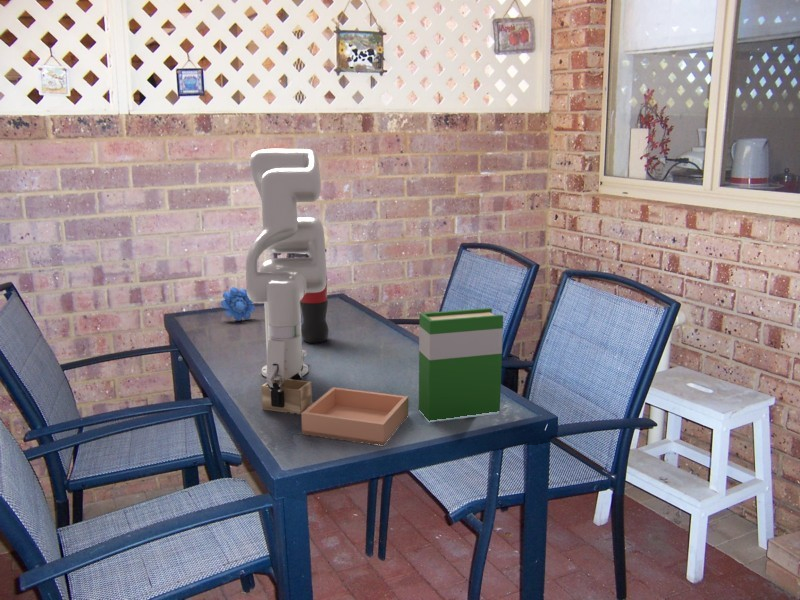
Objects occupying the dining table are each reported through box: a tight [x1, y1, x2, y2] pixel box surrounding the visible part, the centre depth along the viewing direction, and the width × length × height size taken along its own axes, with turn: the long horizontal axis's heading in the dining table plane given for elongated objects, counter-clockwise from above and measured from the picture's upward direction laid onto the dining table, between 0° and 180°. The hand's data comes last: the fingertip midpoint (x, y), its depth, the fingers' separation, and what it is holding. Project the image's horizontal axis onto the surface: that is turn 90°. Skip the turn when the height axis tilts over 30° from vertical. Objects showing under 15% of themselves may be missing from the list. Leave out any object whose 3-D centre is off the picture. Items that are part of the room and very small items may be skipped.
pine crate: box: [260, 377, 313, 415], centre depth 176 cm, size 6×10×6 cm, turn 71°
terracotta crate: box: [300, 386, 409, 446], centre depth 166 cm, size 17×19×5 cm
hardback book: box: [418, 307, 504, 421], centre depth 171 cm, size 18×7×24 cm, turn 107°
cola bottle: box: [300, 253, 329, 344], centre depth 227 cm, size 8×8×30 cm
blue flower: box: [220, 286, 256, 322], centre depth 250 cm, size 12×7×12 cm, turn 114°
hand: (287, 399), depth 177 cm, fingers open, 8 cm apart
